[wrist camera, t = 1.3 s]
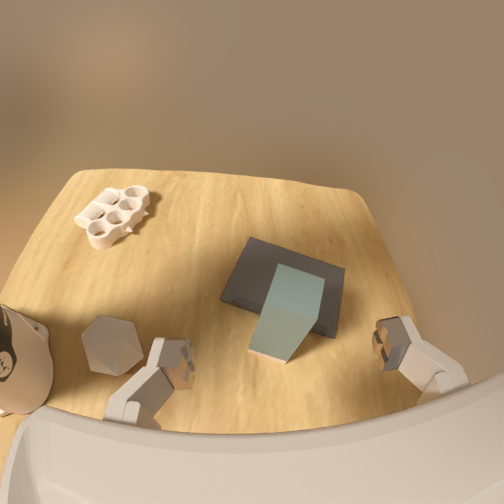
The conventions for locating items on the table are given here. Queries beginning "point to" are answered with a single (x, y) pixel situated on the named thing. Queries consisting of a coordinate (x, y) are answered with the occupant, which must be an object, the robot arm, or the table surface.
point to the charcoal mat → (262, 273)
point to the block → (287, 314)
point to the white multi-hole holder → (113, 214)
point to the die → (111, 345)
